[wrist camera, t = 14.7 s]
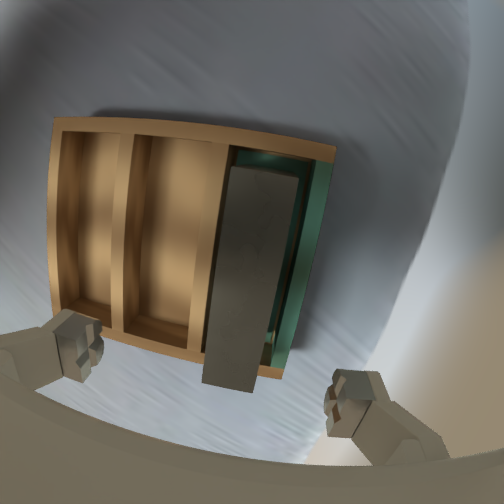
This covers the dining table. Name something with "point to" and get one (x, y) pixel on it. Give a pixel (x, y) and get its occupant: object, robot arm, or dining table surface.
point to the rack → (168, 227)
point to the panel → (247, 273)
